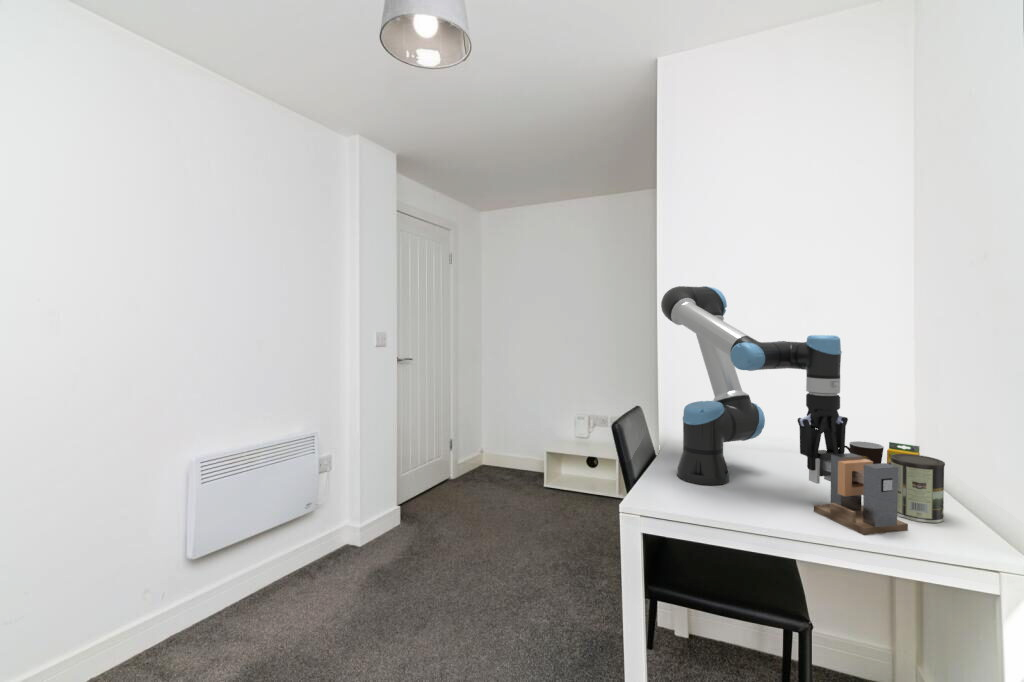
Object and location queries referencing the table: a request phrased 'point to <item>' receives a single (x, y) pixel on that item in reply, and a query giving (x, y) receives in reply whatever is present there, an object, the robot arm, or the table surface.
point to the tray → (855, 519)
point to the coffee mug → (867, 451)
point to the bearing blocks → (869, 492)
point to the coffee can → (920, 487)
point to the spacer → (850, 477)
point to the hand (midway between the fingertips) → (821, 481)
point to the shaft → (856, 475)
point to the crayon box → (901, 450)
